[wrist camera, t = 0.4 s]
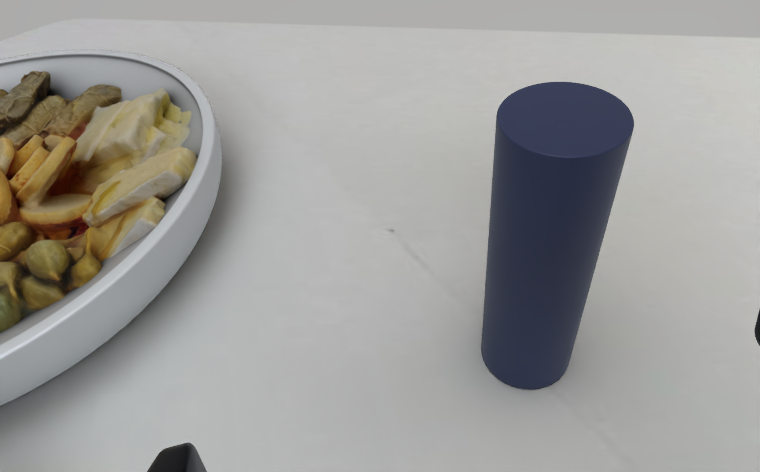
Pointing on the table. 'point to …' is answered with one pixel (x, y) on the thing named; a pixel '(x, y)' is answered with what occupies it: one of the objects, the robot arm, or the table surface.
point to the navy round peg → (547, 223)
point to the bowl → (93, 200)
